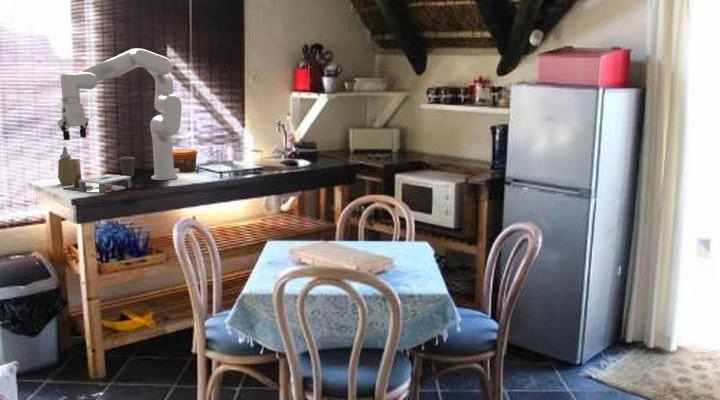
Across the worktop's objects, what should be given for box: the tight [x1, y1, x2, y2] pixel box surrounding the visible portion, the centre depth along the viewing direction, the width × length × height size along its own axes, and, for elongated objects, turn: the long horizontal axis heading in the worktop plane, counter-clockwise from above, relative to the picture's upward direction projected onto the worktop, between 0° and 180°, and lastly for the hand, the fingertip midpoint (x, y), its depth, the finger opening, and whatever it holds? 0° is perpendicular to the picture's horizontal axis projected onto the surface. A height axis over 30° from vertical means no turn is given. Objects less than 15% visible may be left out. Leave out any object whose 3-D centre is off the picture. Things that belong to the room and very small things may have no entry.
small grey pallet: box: [78, 173, 132, 194], centre depth 324 cm, size 18×14×5 cm
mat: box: [62, 185, 94, 192], centre depth 326 cm, size 9×9×1 cm
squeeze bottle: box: [57, 146, 74, 186], centre depth 335 cm, size 8×8×18 cm
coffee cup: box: [118, 156, 136, 178], centre depth 360 cm, size 8×8×10 cm
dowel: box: [71, 158, 82, 188], centre depth 325 cm, size 3×3×13 cm
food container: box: [173, 148, 198, 173], centre depth 379 cm, size 16×16×11 cm
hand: (75, 138), depth 322 cm, fingers open, 9 cm apart
